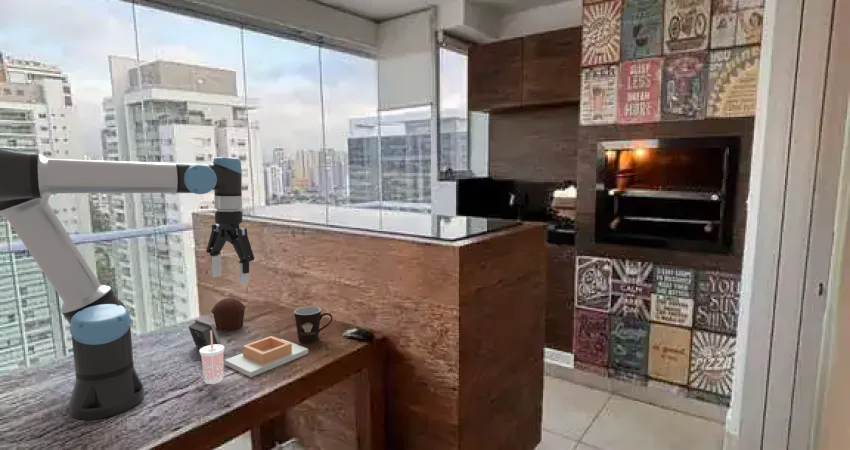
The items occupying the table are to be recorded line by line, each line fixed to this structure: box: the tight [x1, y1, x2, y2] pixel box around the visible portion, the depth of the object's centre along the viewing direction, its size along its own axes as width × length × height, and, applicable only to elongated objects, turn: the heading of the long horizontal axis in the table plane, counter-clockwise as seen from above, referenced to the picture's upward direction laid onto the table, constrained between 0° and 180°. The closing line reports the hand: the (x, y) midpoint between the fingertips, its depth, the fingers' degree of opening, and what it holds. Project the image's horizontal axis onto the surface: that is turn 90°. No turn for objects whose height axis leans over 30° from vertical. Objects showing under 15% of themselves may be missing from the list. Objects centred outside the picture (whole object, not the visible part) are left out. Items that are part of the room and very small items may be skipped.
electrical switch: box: [188, 318, 222, 349], centre depth 146 cm, size 9×5×9 cm, turn 57°
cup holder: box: [224, 335, 309, 378], centre depth 139 cm, size 20×13×4 cm, turn 144°
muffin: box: [211, 297, 247, 332], centre depth 165 cm, size 12×11×10 cm
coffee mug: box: [293, 306, 333, 344], centre depth 154 cm, size 12×9×10 cm
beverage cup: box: [199, 331, 225, 385], centre depth 125 cm, size 6×6×14 cm
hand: (230, 280), depth 140 cm, fingers open, 13 cm apart
